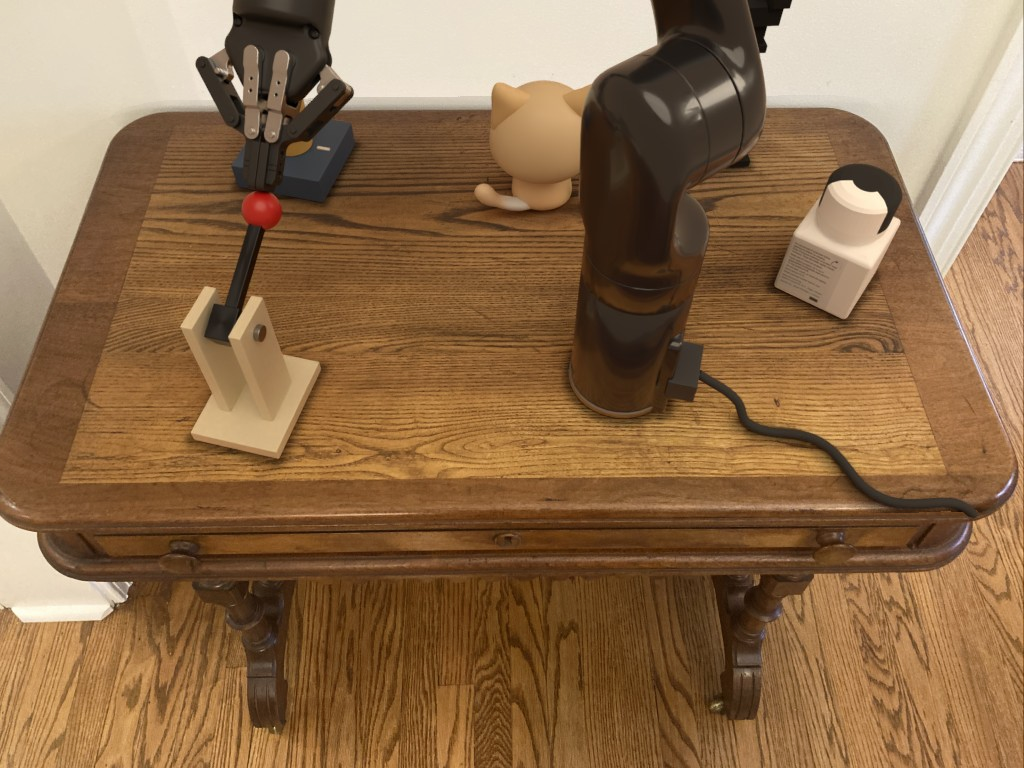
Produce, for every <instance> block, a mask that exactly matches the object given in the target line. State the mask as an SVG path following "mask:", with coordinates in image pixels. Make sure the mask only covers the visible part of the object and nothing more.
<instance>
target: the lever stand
mask: <svg viewBox="0 0 1024 768" xmlns="http://www.w3.org/2000/svg"><path fill="white" fill-rule="evenodd" d="M214 304H220V305H224V304H223V302H222V299H221V296H220V294H219V292H218V290H217V288H216V287H212V286H207V285H205V286H204V287H203V289H202V290H201V292H200V293H199V295H198V297H197V299H196V300H195V301H194V303H193V305H192V307H191V308H190V310H189V311H188V313H187V315H186V316H185V318H184V319H183V321H182V323H181V324H180V325H179V327H180V330H181V332H182V334H183V336H184V339H185V340H186V342H187V345H188V347H189V348H190V350H191V351H190V352H191V353H192V355H193V357H194V359H195V361H196V363H197V365H198V367H199V369H200V371H201V373H202V375H203V377H204V379H205V382H206V384H207V385H208V387H209V390H210V391H211V395H210V397H209V398H208V400H207V402H206V403H205V405H204V407H203V409H202V411H201V413H200V414H199V416H198V418H197V420H196V421H195V424H194V425H193V427H192V429H191V431H190V434H191V437H192V438H193V440H195V441H197V442H203V443H207V444H212V445H215V446H221V447H224V448H229V449H233V450H238V451H243V452H245V453H250V454H255V455H258V456H259V455H260V456H264V457H267V458H272V459H277V460H279V459H280V458H281V456H282V453H283V452H284V450H285V447H286V445H287V443H288V441H289V438H290V436H291V434H292V432H293V431H294V429H295V427H296V424H297V422H298V420H299V418H300V415H301V414H302V411H303V409H304V408H305V407H304V406H305V405H306V403H307V400H308V398H309V396H310V395H311V392H312V389H313V388H314V386H315V384H316V382H317V380H318V377H319V375H320V373H321V372H322V367H321V364H320V361H317V360H312V359H307V358H302V357H298V356H294V355H288V354H284V353H283V352H282V349H281V347H280V344H279V341H278V338H277V335H276V332H275V329H274V326H273V323H272V320H271V317H270V315H269V312H268V308H267V306H266V303H265V301H264V297H262V296H256V295H251V296H250V297H249V299H248V301H247V303H246V304H245V306H244V307H243V309H242V313H241V315H240V317H239V319H238V320H237V322H236V324H235V326H234V327H233V329H232V331H231V333H230V334H229V336H228V338H229V340H230V343H231V345H232V347H229V346H224V345H220V344H216V343H214V342H213V341H211V340H209V339H207V338H205V337H204V335H205V331H206V328H207V325H208V321H209V318H210V315H211V311H212V308H213V305H214Z"/></svg>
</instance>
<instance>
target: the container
mask: <svg viewBox="0 0 1024 768" xmlns="http://www.w3.org/2000/svg"><path fill="white" fill-rule="evenodd" d="M902 201H903V190H902V187H901V186H900V183H899V182H898V181H897V179H896V178H895V177H894V176H893V175H892V174H890V173H889V172H888V171H886V170H884V169H882V168H880V167H878V166H875V165H872V164H868V163H850V164H846V165H843V166H840V167H838V168H836V169H835V170H834V171H833V172H831V174H830V175H829V177H828V179H827V181H826V183H825V186H824V189H823V192H822V193H821V194H820V196H819V197H818V199H816V201H815V203H814V204H813V205H812V207H811V208H810V210H809V211H808V212H807V214H806V215H805V217H804V218H803V219H802V221H801V222H800V223H799V225H798V226H797V227H796V229H795V230H794V231H793V234H792V236H791V239H790V241H789V244H788V246H787V249H786V252H785V254H784V257H783V260H782V263H781V265H780V266H779V270H778V272H777V276H776V278H775V280H774V287H775V288H776V289H778V290H780V291H783V292H785V293H787V294H789V295H791V296H793V297H795V298H797V299H800V300H801V301H803V302H805V303H808V304H810V305H812V306H814V307H816V308H818V309H820V310H822V311H825V312H826V313H828V314H831V315H833V316H835V317H837V318H839V319H841V320H846V319H847V318H848V317H849V315H850V314H851V312H852V311H853V309H854V307H856V304H857V302H858V301H859V299H860V298H861V296H862V295H863V294H864V292H865V290H866V289H867V287H868V285H869V283H870V282H871V280H872V279H873V277H874V276H875V274H876V272H877V270H878V268H879V266H880V264H881V262H882V261H883V259H884V257H885V254H886V252H887V251H888V249H889V247H890V245H891V243H892V241H893V239H894V237H895V235H896V233H897V231H898V229H899V227H900V226H901V220H900V218H898V217H896V216H895V215H896V213H897V211H898V209H899V207H900V205H901V203H902Z"/></svg>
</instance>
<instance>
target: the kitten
mask: <svg viewBox="0 0 1024 768" xmlns="http://www.w3.org/2000/svg"><path fill="white" fill-rule="evenodd" d="M591 84H592V83H590V84H587V85H585V86H583V87H580V88H576V89H574V88H572V87H571V86H569V85H567V84H564V83H561V82H558V81H554V80H546V79H543V80H542V79H541V80H534V81H530V82H525V83H523V84H521V85H519V86H517V87H513V86H511V85H509V84H507V83H504V82H500V81H499V82H496V83H495V84H494V85H493V87H492V89H491V96H490V100H491V110H490V113H491V114H490V129H489V137H488V139H489V141H488V143H489V150H490V154H491V156H492V159H493V161H494V162H495V163H496V164H497V165H498V166H499V167H500V168H501V169H502V170H503V171H504V172H505V173H506V174H508V175H509V176H511V177H512V179H511V194H512V195H502V194H499V193H497V192H496V190H495V189H494V188H493V187H492V186H491V185H490V184H488V183H480V184H478V185H477V186H476V187H475V189H474V196H475V198H476V199H477V201H479V202H480V203H482V204H483V205H485V206H487V207H492V208H499V209H502V210H505V211H511V212H523V211H527V210H534V211H551V210H554V209H557V208H559V207H562V206H564V204H566V203H567V202H568V201H569V200H570V198H571V195H572V192H573V184H572V178H574V177H576V176H577V175H579V166H580V130H581V118H582V110H583V106H584V101H585V98H586V95H587V93H588V90H589V88H590V86H591Z"/></svg>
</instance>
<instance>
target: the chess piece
mask: <svg viewBox="0 0 1024 768" xmlns="http://www.w3.org/2000/svg"><path fill="white" fill-rule="evenodd" d="M747 2H748V6H749V10H750V15H751V19H752V23H753V27H754V31H755V36H756V40H757V44H758V49H759V53H760V54H766V53H767V49H768V43H767V41H766V40H765V39H766V38H765V36H766V32H767V29H768V27H779V26H780V24H781V20H782V17H783V14H784V10H788V9H791V6H792V2H793V0H747ZM750 163H751V159H750V157H749V153H748V154H747V155H746V156H744V157H743V158H742V159H740V160H739V161H737V162H736V163H734V164H732V165H731V166H729V167H728V168H727V169H729V168H730V169H731V168H744V167H749V166H750Z"/></svg>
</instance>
